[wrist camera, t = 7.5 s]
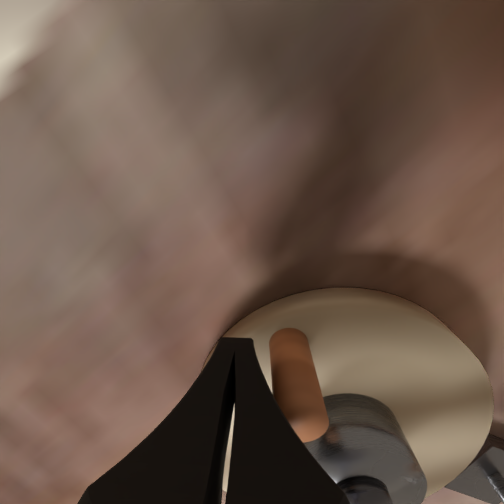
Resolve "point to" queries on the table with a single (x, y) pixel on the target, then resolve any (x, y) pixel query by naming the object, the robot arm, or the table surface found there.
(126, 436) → the table surface
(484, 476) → the grey and clear piece
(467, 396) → the turntable
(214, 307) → the table surface
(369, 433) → the iron cover
